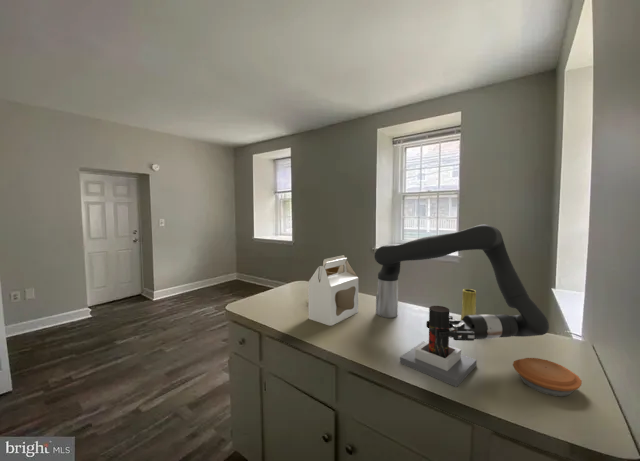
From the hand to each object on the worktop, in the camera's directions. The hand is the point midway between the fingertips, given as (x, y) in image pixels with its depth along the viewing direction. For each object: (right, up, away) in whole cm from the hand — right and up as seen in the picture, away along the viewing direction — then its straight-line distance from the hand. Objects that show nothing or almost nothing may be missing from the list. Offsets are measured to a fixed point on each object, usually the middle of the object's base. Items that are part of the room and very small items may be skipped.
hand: (431, 328), depth 93 cm
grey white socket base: (+2, -12, +1) cm, 12 cm away
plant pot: (-26, -7, +72) cm, 77 cm away
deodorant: (+3, -9, +1) cm, 9 cm away
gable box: (-29, -9, +44) cm, 54 cm away
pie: (+29, -13, -9) cm, 33 cm away
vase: (+30, -9, +36) cm, 48 cm away
